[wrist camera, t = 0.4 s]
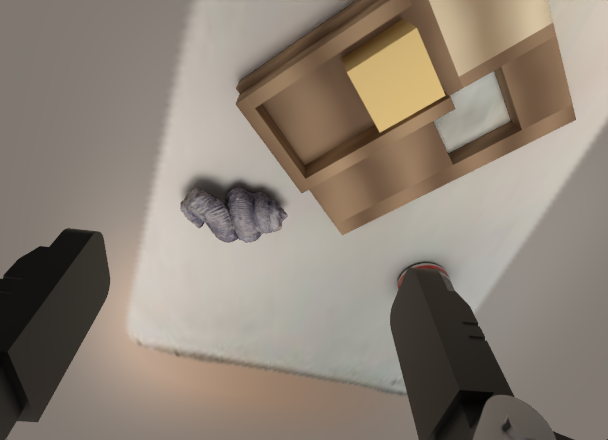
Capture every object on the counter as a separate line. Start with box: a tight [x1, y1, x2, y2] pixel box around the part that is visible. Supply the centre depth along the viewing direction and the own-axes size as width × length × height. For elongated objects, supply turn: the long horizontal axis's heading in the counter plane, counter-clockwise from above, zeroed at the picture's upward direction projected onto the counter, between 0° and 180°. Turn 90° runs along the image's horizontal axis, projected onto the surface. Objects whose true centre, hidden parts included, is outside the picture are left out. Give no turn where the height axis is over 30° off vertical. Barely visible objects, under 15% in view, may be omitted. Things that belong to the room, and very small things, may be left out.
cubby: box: [236, 0, 455, 193], centre depth 30 cm, size 14×9×2 cm, turn 122°
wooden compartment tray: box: [236, 0, 576, 235], centre depth 32 cm, size 22×17×2 cm
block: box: [342, 19, 445, 132], centre depth 28 cm, size 5×5×4 cm
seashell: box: [181, 187, 287, 243], centre depth 37 cm, size 5×5×10 cm
